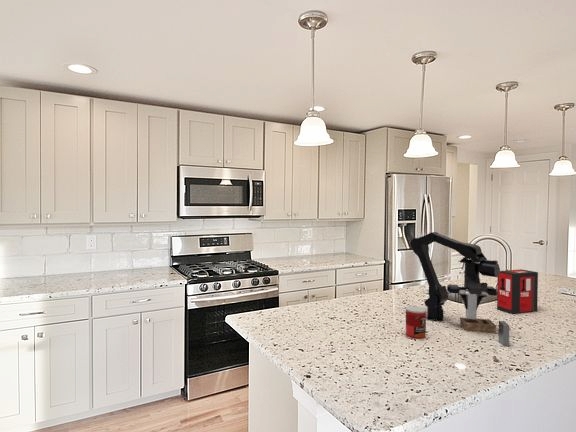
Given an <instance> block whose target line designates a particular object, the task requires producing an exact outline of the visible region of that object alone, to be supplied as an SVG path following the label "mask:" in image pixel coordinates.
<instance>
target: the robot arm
mask: <svg viewBox="0 0 576 432" xmlns="http://www.w3.org/2000/svg"><path fill="white" fill-rule="evenodd" d="M434 242H435V243H437V244H439V245H442V246H445V247H447V248H449V249H452V250H454V251H456V252H458V253H459V255H461V256H463V257H462V258H461V259H460V260H459V263H463V264H464V274H463V277H464V281H463V282H464V283H463V286H459V285H458V284H450V283H449V284H447V286H446V285H442V284H441V283H440V282H439V281H440V280H439V278H438V276H437V274H436V273H437V272H436V271H435V268H434V265H433V263H432V260H431V258H430V255H429V251H430V245H431V244H432V243H434ZM409 245H410V248H411V250H412V252H413V253H414V254H415V255H416V256H417V257H418V259H419V262H420V265H421V267H422V270H423V273H424V275H425V279H426V281H427V285H428V298H427V299H425V300H424V305H425V307H426V319H427V320H428V321H440V322H442V321H444V309H443V306H444V305H445V303H446V302H447V301H448V299H449V293H450V294H457V295H458V296H460V297H461V299H462V303H463V306H464V309H465V310H466V309H467V294H475V295H477V309H478V308H479V305H480V304H481V301H482V300H483V298H487V295H486V294H488V296H492V297H493V296H496V297H497V289H496V288H495V287H494V286H491V285H490V286H488V283H487V282H481V279H480V275H481V276H484V277H485V276H486V277H493V278H498V276H499V273H500V271H501V268H500V265H499V262H498V260H496V259H495V260H490V259H487V257H486V256H485V254H484V252H482V248H481V246H479V245H477V244H474V243H469V242H462V241H459V240H456V239H454V238H452V237H451V238H450V237H449V236H446V235H444V234H441V233H439V232H437V231H434V232H433V231H431V232H429V233H427V234H425V235H423V236H419V237H415V238H412V239H411V240H410V243H409ZM466 293H467V294H466Z"/></svg>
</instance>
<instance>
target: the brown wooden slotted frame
mask: <svg viewBox="0 0 576 432" xmlns="http://www.w3.org/2000/svg"><path fill="white" fill-rule="evenodd" d="M459 325H460V326H461V328H462V329H463V330H464V331H466V332H468V331H469V332H478V333H479V332H481V333H491V334H493V333H494V334H496V333H497V325H496V324H495V323H494V321H492V319H490V318H488V319H487V318H476V319H470V318H467V317H460V319H459Z"/></svg>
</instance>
